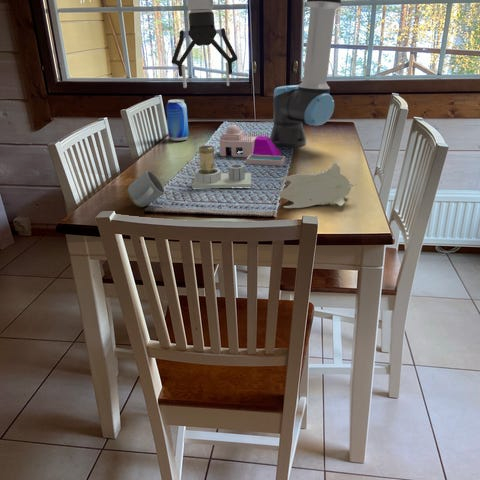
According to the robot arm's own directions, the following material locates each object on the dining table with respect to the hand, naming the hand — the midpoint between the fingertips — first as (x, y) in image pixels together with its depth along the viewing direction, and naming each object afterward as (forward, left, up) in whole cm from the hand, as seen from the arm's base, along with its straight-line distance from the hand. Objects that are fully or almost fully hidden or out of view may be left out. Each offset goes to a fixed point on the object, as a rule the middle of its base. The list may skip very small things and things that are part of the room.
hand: (206, 86), depth 146 cm
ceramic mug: (+15, +34, -28) cm, 46 cm away
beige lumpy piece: (-33, +33, -30) cm, 55 cm away
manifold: (-5, +14, -28) cm, 31 cm away
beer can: (+17, -45, -28) cm, 56 cm away
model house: (-14, -15, -28) cm, 35 cm away
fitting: (0, +14, -26) cm, 29 cm away
